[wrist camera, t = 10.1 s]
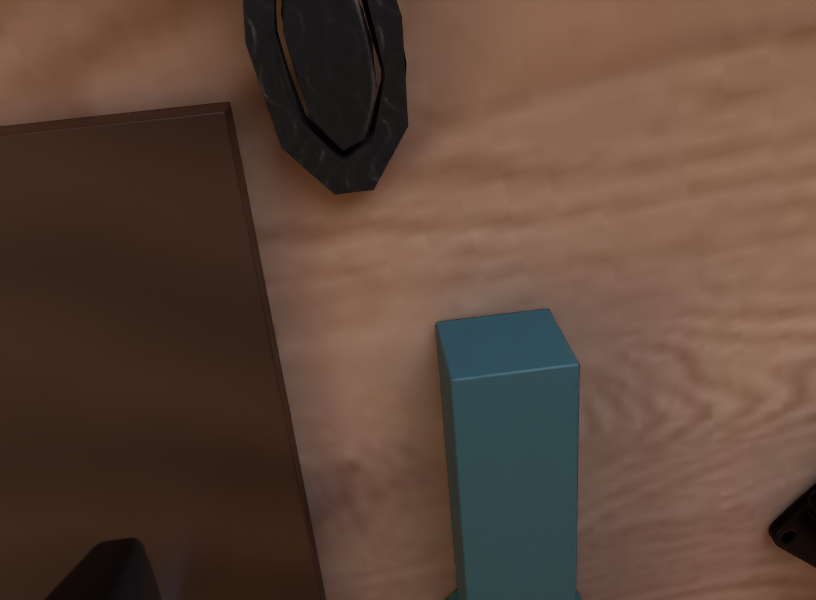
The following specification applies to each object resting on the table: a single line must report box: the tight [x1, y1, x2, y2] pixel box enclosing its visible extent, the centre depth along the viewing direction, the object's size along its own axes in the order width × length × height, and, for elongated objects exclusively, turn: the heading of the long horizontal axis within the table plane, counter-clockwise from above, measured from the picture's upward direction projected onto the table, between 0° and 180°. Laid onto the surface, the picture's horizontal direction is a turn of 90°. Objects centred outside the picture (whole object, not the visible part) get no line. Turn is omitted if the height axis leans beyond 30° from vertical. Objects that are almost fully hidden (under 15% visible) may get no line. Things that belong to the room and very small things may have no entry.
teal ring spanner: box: [435, 309, 582, 600], centre depth 23 cm, size 15×5×3 cm, turn 5°
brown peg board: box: [0, 102, 326, 600], centre depth 19 cm, size 19×10×6 cm, turn 5°
